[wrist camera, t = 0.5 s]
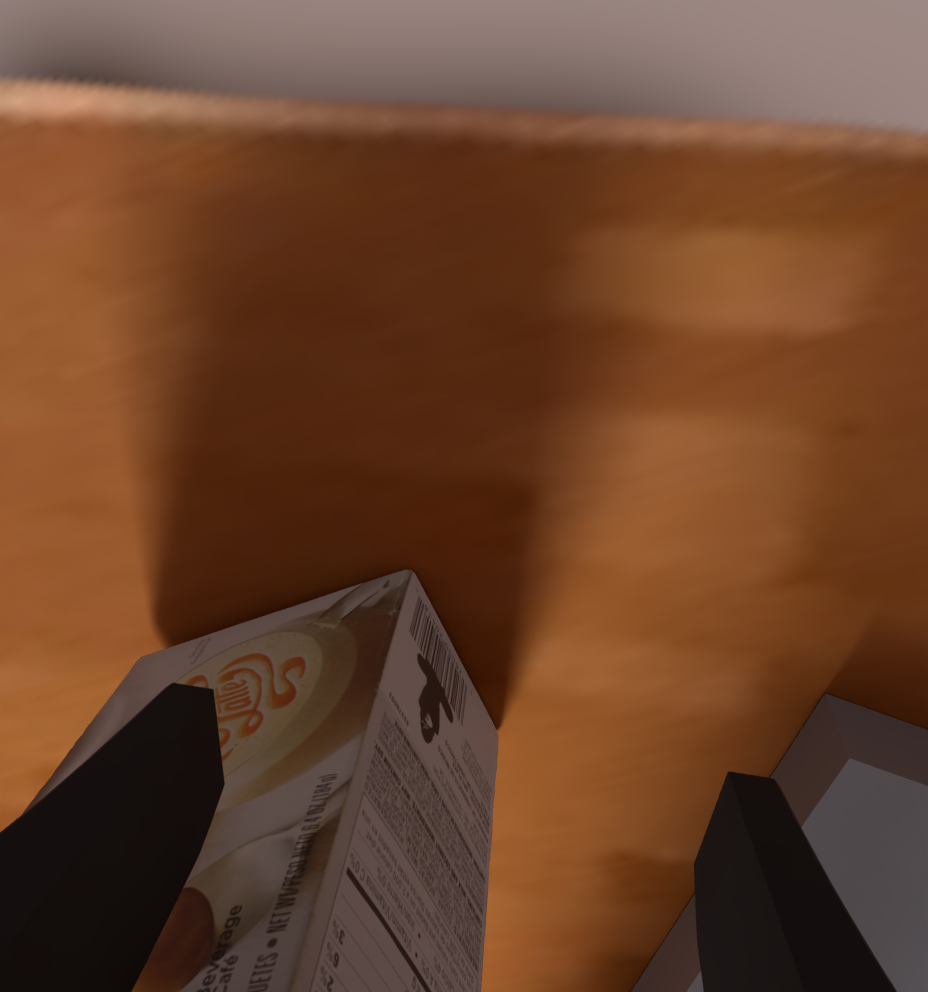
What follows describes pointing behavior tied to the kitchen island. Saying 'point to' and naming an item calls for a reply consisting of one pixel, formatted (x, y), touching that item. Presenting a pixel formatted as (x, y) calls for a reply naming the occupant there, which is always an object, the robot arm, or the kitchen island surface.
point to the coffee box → (329, 801)
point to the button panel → (847, 839)
